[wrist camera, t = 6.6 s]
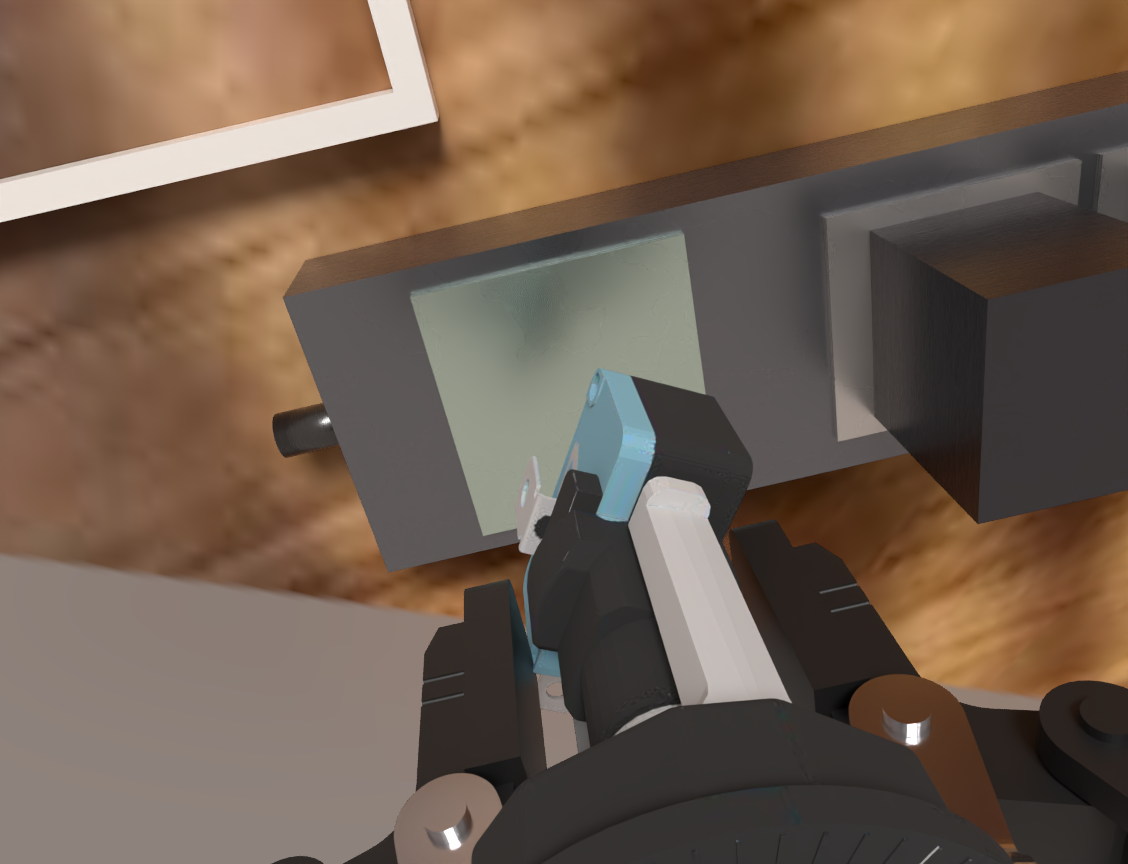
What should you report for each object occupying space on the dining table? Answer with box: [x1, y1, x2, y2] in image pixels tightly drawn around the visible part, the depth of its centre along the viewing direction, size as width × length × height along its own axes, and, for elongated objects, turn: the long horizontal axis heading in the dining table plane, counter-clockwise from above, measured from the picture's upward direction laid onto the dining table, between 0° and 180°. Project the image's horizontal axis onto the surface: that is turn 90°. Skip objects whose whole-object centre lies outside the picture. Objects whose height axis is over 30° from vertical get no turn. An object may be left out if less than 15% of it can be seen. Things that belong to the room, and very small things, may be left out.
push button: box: [471, 368, 1015, 864], centre depth 11 cm, size 7×5×10 cm
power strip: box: [273, 71, 1128, 572], centre depth 20 cm, size 27×8×8 cm, turn 102°
